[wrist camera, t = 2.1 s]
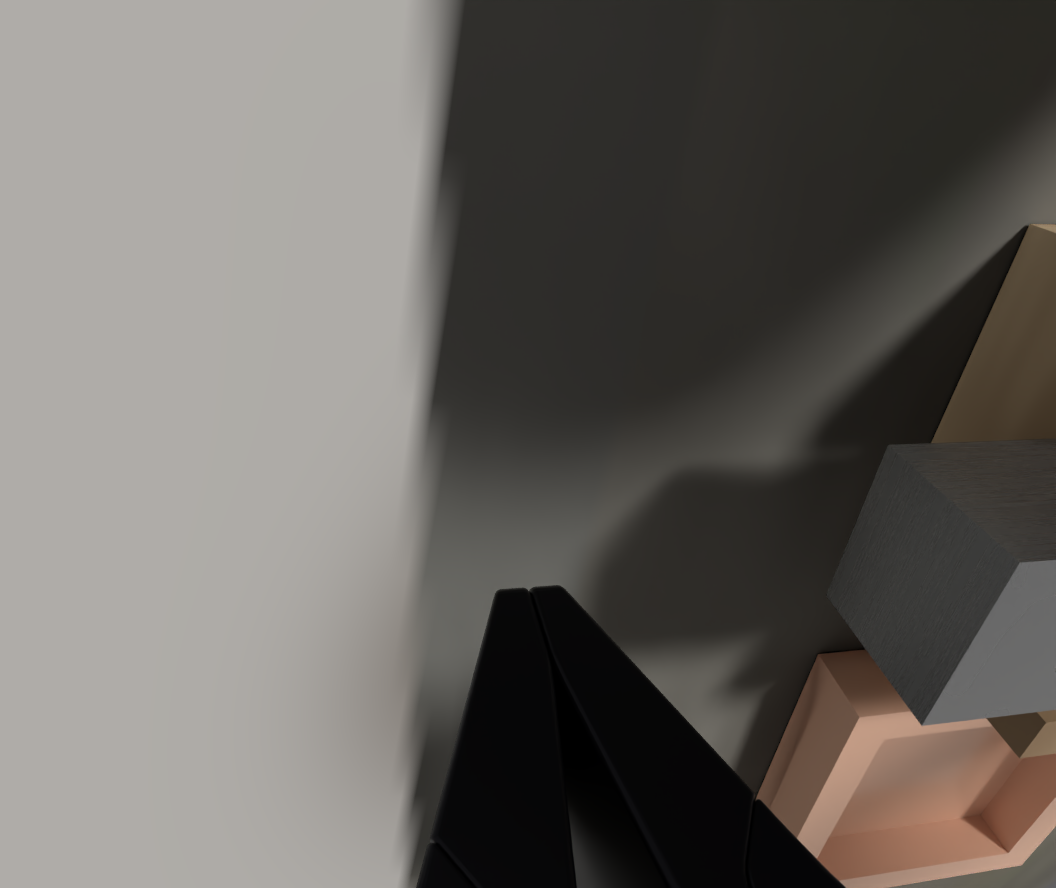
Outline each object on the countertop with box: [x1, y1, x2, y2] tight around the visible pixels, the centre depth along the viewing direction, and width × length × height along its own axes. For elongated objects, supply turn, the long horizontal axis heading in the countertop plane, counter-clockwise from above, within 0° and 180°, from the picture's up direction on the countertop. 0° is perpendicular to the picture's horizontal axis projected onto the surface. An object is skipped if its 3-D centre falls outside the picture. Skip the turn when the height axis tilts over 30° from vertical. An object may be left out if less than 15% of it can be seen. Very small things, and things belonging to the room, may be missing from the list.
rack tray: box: [756, 650, 1056, 888], centre depth 19 cm, size 9×9×2 cm
